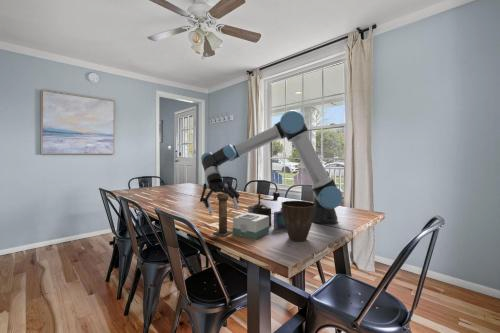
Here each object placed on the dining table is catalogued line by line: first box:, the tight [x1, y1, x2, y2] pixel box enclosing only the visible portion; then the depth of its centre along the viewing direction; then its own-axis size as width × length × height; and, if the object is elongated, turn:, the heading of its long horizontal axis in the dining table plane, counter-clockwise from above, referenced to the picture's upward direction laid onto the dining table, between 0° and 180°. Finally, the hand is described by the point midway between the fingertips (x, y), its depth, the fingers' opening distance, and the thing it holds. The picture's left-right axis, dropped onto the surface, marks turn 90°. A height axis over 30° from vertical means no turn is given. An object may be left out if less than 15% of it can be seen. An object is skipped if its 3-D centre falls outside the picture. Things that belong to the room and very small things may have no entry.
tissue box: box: [232, 212, 270, 240], centre depth 118 cm, size 13×12×9 cm
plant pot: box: [280, 200, 315, 242], centre depth 110 cm, size 15×15×16 cm
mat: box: [212, 229, 233, 238], centre depth 118 cm, size 7×7×1 cm
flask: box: [273, 207, 287, 231], centre depth 125 cm, size 9×3×11 cm, turn 109°
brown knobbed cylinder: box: [216, 192, 229, 234], centre depth 117 cm, size 5×5×18 cm
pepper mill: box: [247, 191, 281, 227], centre depth 134 cm, size 16×11×18 cm
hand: (224, 211), depth 115 cm, fingers open, 13 cm apart
